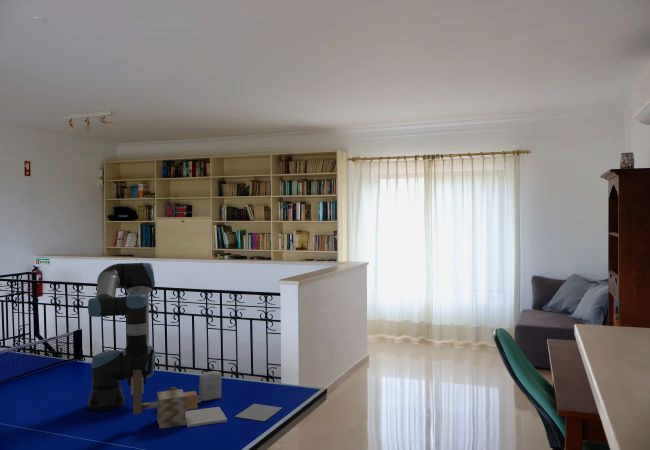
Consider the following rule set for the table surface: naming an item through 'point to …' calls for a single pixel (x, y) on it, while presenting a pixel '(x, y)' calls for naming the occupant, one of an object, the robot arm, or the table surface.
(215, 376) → the photo printer
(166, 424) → the bearing block
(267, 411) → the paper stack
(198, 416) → the mat
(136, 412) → the handled brown block
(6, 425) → the table surface
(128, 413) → the table surface
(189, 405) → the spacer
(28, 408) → the table surface
